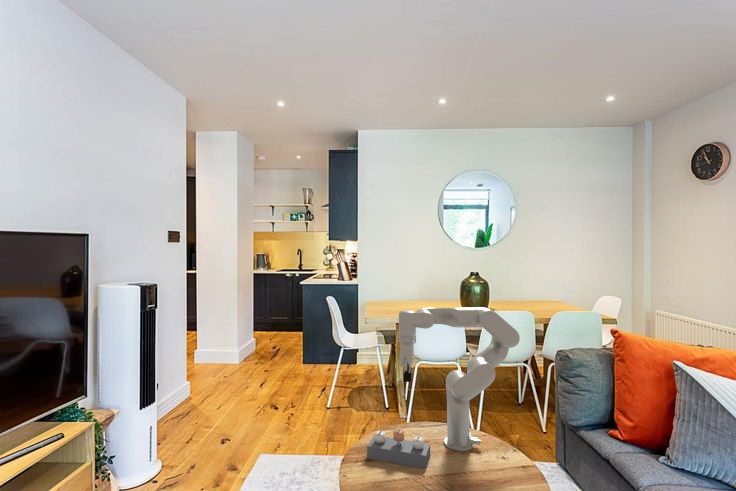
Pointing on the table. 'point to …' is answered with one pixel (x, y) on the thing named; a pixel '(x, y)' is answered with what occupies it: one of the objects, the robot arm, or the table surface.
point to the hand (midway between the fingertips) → (407, 381)
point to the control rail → (399, 452)
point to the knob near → (418, 443)
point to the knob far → (379, 437)
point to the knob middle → (398, 436)
